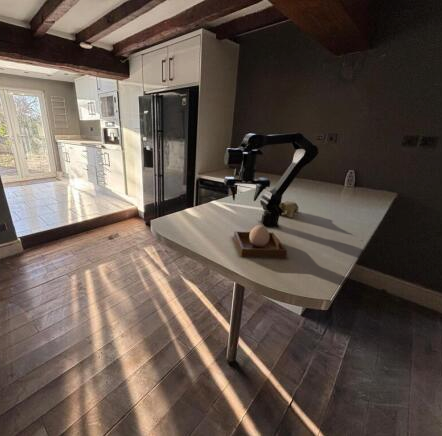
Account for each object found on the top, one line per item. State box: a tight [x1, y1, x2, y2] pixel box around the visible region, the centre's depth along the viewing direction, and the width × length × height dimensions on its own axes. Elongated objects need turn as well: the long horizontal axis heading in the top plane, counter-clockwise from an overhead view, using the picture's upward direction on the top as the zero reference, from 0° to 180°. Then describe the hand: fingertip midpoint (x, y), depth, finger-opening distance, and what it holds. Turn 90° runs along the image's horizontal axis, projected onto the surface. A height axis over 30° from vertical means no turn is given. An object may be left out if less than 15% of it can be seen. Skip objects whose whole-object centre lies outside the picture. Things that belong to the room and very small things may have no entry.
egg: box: [249, 224, 270, 247], centre depth 87 cm, size 7×7×8 cm
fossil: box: [279, 200, 299, 219], centre depth 124 cm, size 15×10×10 cm
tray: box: [233, 230, 288, 259], centre depth 88 cm, size 16×15×3 cm
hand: (244, 200), depth 103 cm, fingers open, 9 cm apart
